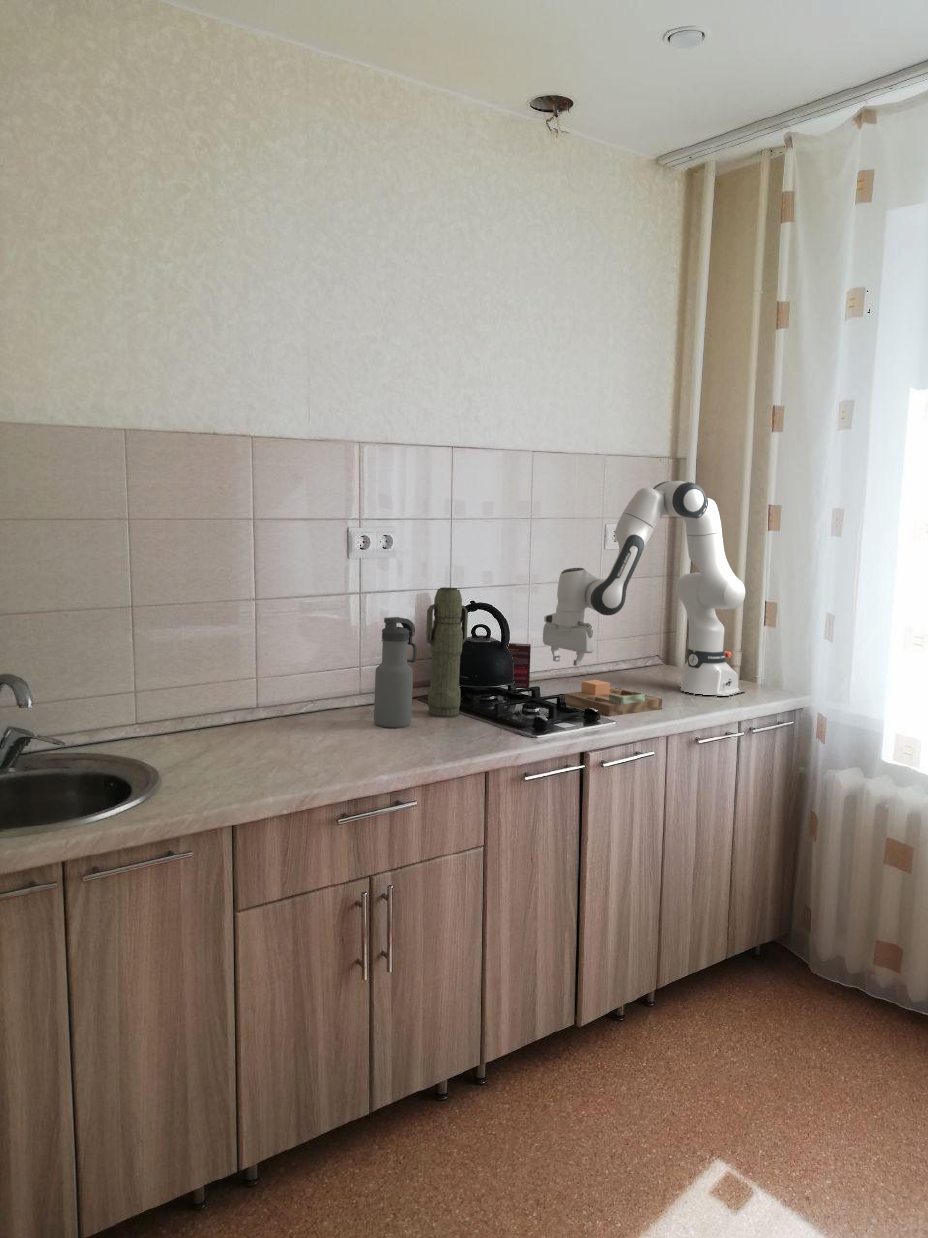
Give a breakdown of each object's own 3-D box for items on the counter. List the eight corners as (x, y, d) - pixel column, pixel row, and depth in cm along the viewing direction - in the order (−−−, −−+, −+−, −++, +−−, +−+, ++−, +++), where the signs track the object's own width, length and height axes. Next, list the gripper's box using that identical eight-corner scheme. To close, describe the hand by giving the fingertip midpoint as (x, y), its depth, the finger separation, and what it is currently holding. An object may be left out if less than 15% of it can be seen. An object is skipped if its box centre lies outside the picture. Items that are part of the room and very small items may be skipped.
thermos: (470, 715, 256) (475, 589, 252) (435, 719, 249) (439, 590, 245) (452, 708, 263) (457, 586, 259) (417, 712, 257) (421, 587, 252)
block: (595, 690, 285) (596, 679, 284) (609, 693, 280) (610, 683, 279) (581, 691, 281) (581, 681, 281) (595, 695, 276) (595, 684, 276)
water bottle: (395, 718, 249) (399, 614, 246) (420, 725, 242) (423, 619, 239) (366, 723, 242) (369, 616, 239) (390, 730, 235) (393, 621, 232)
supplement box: (529, 693, 290) (531, 643, 288) (528, 696, 285) (531, 645, 283) (501, 692, 291) (503, 642, 289) (500, 695, 286) (502, 644, 284)
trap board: (615, 697, 290) (616, 681, 290) (661, 709, 275) (662, 692, 274) (563, 703, 277) (564, 687, 277) (608, 716, 262) (609, 698, 262)
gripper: (600, 623, 282) (597, 668, 283) (555, 615, 298) (552, 658, 300) (585, 624, 278) (582, 669, 280) (540, 616, 294) (537, 659, 296)
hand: (566, 663), depth 290 cm, fingers open, 8 cm apart
